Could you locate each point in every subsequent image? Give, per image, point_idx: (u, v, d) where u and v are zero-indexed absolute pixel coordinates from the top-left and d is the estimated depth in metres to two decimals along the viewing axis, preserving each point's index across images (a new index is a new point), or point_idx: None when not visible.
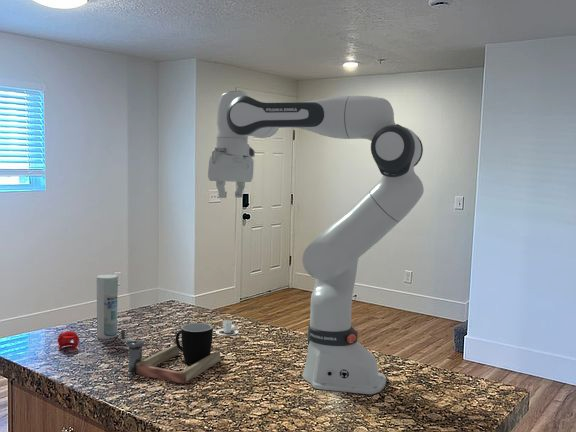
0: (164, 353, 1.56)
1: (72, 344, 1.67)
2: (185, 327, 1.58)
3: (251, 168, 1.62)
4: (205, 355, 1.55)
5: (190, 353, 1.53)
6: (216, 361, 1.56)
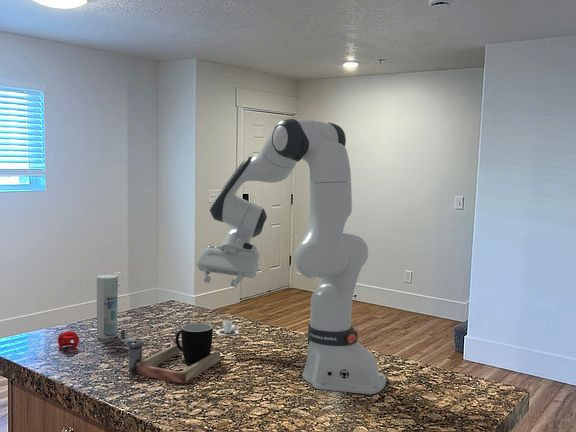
0: (164, 353, 1.56)
1: (72, 344, 1.67)
2: (185, 327, 1.58)
3: (251, 261, 1.73)
4: (205, 355, 1.55)
5: (190, 353, 1.53)
6: (216, 361, 1.56)
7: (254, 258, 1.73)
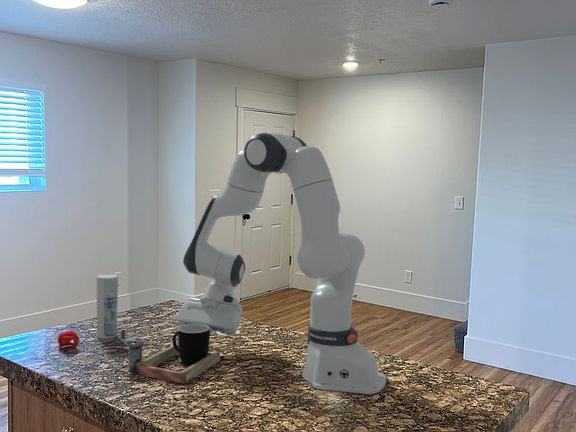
0: (164, 353, 1.56)
1: (72, 344, 1.67)
2: (182, 328, 1.57)
3: (231, 315, 1.61)
4: (202, 356, 1.53)
5: (187, 354, 1.52)
6: (216, 361, 1.56)
7: (235, 312, 1.61)
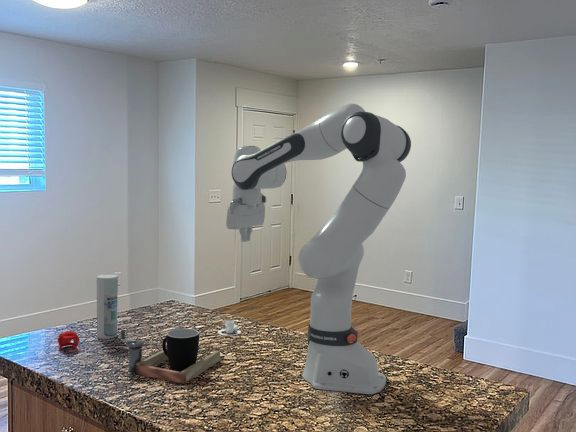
0: (164, 353, 1.56)
1: (72, 344, 1.67)
2: (171, 332, 1.53)
3: (263, 212, 1.79)
4: (190, 362, 1.48)
5: (174, 360, 1.47)
6: (216, 361, 1.56)
7: (264, 209, 1.80)
